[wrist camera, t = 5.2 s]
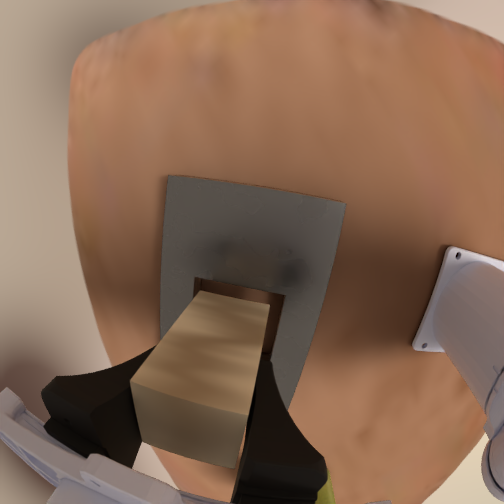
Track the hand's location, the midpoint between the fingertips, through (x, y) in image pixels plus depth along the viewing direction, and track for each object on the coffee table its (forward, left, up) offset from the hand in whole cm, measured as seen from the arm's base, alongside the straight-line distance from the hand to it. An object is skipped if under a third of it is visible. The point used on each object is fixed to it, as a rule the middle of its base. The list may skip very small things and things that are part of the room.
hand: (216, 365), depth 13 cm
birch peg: (0, 0, -3) cm, 3 cm away
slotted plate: (0, 0, -6) cm, 6 cm away
